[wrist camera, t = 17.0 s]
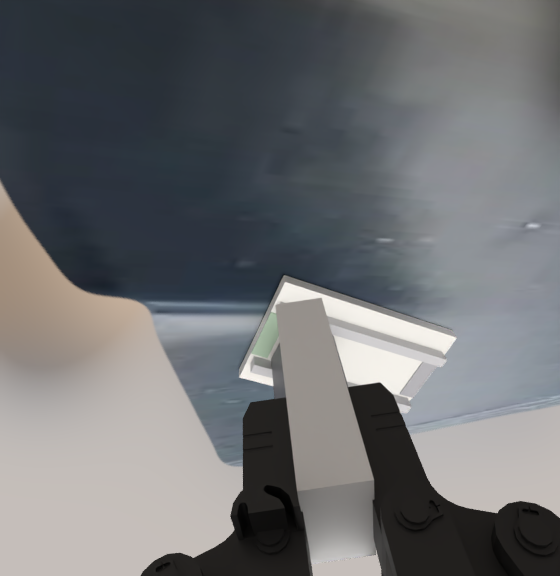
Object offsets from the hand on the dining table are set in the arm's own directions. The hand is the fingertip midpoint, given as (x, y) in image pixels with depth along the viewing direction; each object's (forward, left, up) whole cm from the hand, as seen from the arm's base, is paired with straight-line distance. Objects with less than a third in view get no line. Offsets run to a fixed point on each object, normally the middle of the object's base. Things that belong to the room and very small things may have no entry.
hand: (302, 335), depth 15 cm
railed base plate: (-6, +26, -29) cm, 40 cm away
